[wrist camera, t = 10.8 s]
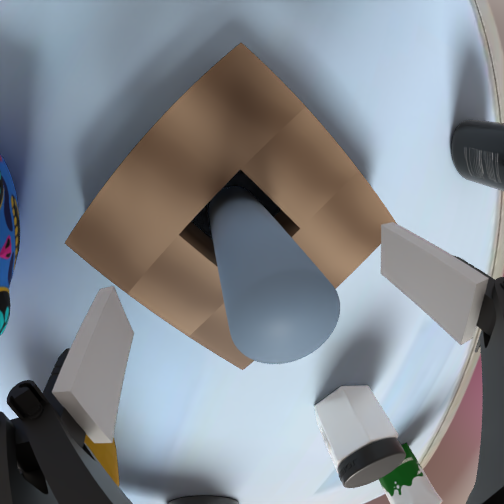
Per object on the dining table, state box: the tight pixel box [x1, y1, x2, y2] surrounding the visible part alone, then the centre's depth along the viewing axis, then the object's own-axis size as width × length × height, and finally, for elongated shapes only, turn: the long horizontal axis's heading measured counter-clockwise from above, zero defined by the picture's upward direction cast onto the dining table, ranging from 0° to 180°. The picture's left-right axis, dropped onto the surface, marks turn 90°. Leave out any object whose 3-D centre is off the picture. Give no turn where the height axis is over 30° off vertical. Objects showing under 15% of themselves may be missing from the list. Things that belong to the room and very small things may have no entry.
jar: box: [314, 385, 406, 488], centre depth 31 cm, size 9×8×12 cm
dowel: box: [208, 186, 340, 364], centre depth 17 cm, size 4×4×15 cm
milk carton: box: [379, 443, 443, 504], centre depth 41 cm, size 9×9×20 cm
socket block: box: [65, 43, 397, 370], centre depth 22 cm, size 17×17×5 cm
